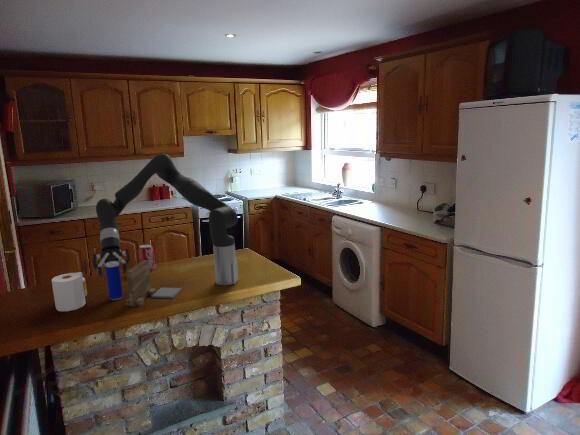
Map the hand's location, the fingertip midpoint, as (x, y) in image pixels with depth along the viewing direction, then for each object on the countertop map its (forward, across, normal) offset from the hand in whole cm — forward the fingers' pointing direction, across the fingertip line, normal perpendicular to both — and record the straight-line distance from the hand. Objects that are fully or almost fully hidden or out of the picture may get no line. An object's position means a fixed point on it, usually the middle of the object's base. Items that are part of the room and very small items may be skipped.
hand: (113, 274), depth 173 cm
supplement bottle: (+2, +14, -12) cm, 18 cm away
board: (+12, -10, -1) cm, 15 cm away
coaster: (+11, -20, -2) cm, 23 cm away
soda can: (-14, -14, -28) cm, 35 cm away
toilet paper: (+9, +16, -5) cm, 19 cm away
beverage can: (+8, 0, -5) cm, 10 cm away
